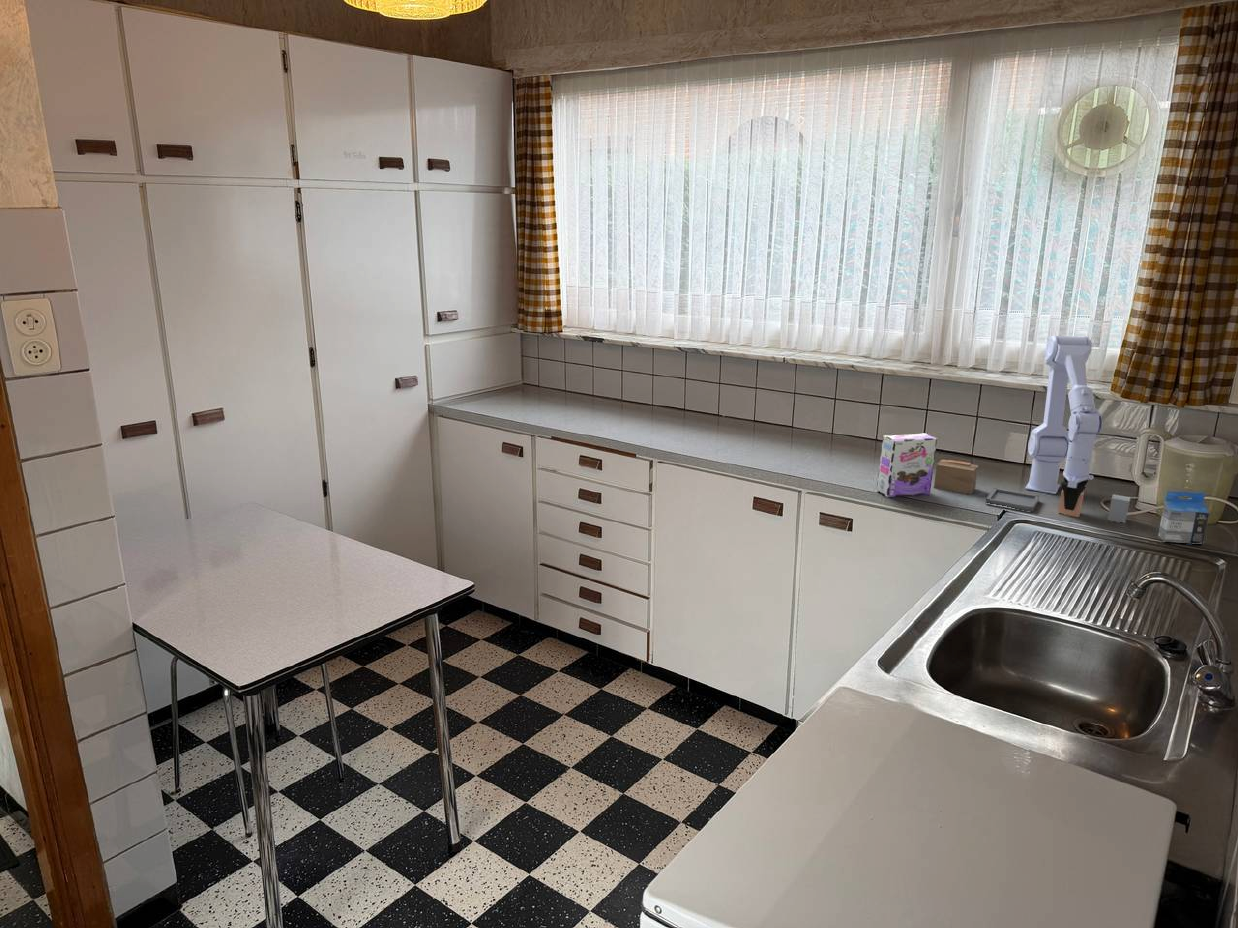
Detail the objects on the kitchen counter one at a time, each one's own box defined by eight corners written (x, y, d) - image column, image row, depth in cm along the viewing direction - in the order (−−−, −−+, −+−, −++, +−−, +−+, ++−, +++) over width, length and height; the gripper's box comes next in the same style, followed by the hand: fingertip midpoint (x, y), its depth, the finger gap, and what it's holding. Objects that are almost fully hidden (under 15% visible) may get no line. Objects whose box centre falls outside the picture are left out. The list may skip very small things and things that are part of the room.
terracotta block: (1059, 509, 233) (1063, 488, 231) (1080, 513, 231) (1084, 491, 229) (1057, 513, 230) (1061, 491, 228) (1078, 517, 227) (1082, 495, 226)
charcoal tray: (993, 493, 245) (994, 488, 245) (1038, 501, 239) (1039, 495, 239) (985, 504, 236) (986, 498, 235) (1032, 513, 230) (1033, 507, 229)
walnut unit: (939, 482, 254) (942, 458, 252) (975, 488, 249) (978, 463, 247) (933, 487, 249) (937, 463, 247) (970, 494, 244) (974, 469, 242)
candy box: (887, 498, 239) (893, 440, 235) (875, 491, 245) (881, 434, 240) (930, 494, 243) (938, 437, 238) (918, 488, 248) (925, 432, 244)
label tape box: (1163, 543, 211) (1174, 495, 207) (1156, 537, 214) (1166, 490, 211) (1203, 546, 209) (1214, 497, 206) (1194, 540, 213) (1205, 492, 210)
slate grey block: (1108, 516, 229) (1112, 494, 227) (1126, 519, 227) (1130, 497, 225) (1107, 520, 226) (1111, 498, 224) (1125, 523, 224) (1129, 501, 222)
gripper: (1093, 466, 218) (1084, 517, 222) (1098, 453, 230) (1089, 502, 234) (1062, 461, 222) (1053, 512, 225) (1069, 449, 233) (1060, 497, 237)
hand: (1070, 507), depth 230 cm, fingers closed on terracotta block, 4 cm apart
